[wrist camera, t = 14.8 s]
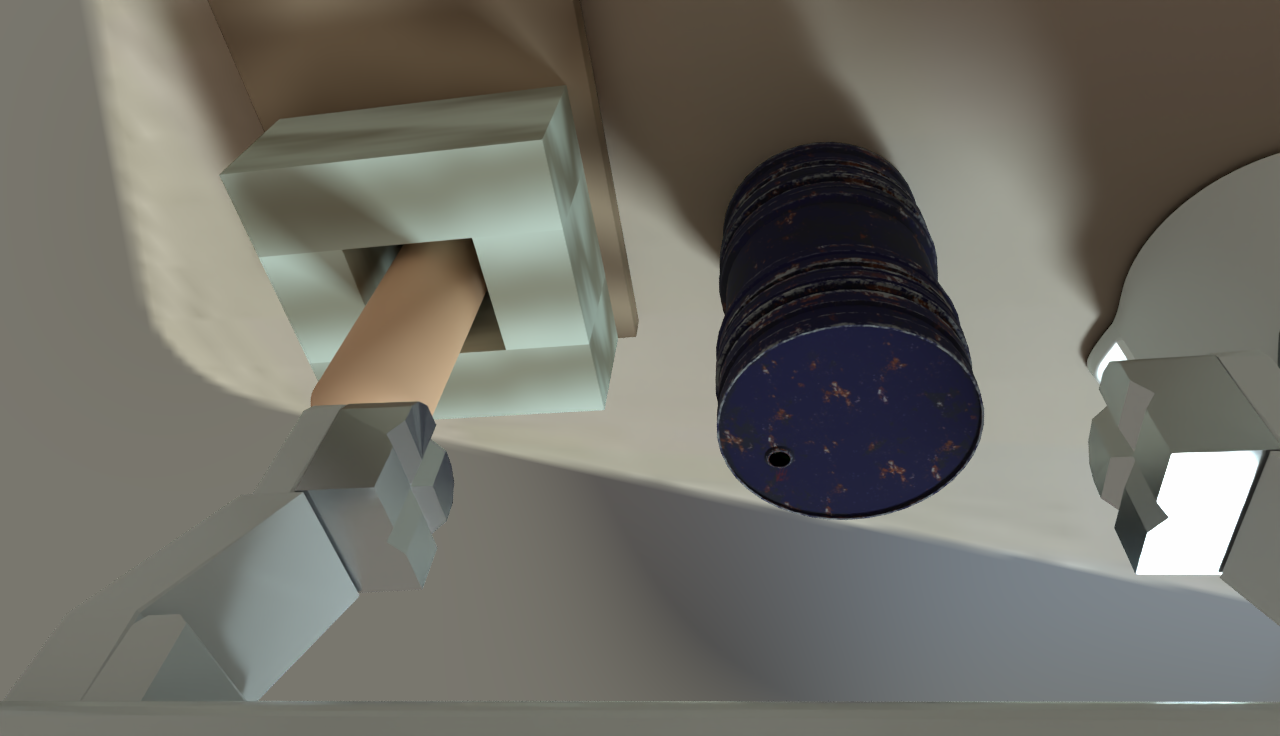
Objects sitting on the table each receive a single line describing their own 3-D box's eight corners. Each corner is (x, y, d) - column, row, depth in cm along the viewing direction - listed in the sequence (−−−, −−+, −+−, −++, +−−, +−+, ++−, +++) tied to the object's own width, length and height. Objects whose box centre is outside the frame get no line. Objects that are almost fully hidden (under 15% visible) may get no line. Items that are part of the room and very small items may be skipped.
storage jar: (864, 99, 39) (916, 273, 28) (953, 257, 44) (1031, 464, 32) (682, 207, 43) (661, 397, 32) (781, 341, 48) (794, 551, 36)
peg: (522, 242, 44) (448, 424, 33) (465, 287, 46) (378, 474, 35) (457, 179, 42) (356, 350, 31) (401, 230, 44) (288, 407, 33)
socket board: (638, 321, 48) (624, 409, 42) (369, 340, 51) (321, 425, 45) (545, -185, 34) (504, -158, 28) (177, -121, 36) (67, -85, 30)
